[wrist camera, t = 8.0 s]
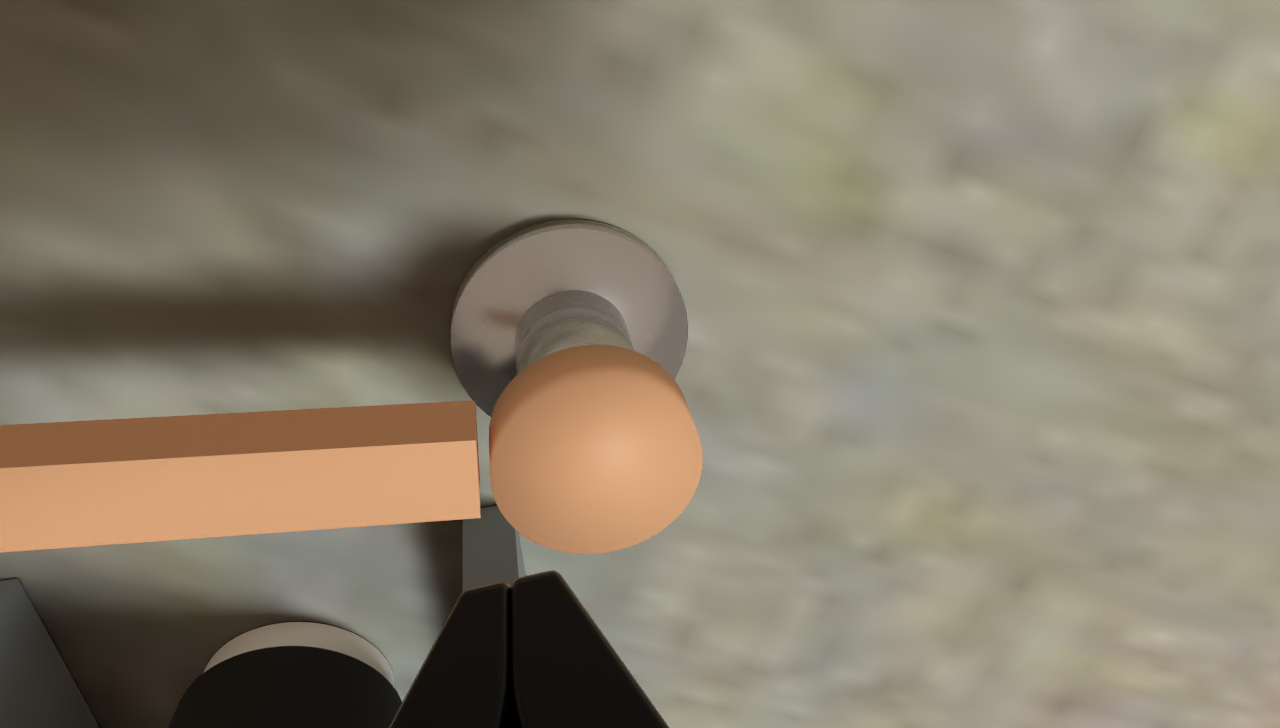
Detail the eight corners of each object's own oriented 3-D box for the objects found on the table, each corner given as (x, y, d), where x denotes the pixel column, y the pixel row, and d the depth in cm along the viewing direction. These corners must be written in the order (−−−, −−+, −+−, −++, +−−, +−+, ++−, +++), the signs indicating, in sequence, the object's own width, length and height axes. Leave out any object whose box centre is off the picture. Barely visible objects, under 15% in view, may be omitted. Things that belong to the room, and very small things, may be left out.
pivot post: (686, 408, 22) (723, 505, 19) (471, 438, 21) (472, 544, 18) (677, 205, 19) (718, 279, 16) (431, 235, 19) (425, 317, 16)
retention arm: (695, 339, 16) (710, 375, 15) (682, 504, 18) (695, 545, 17) (-132, 376, 14) (-177, 419, 13) (-53, 557, 16) (-88, 608, 15)
